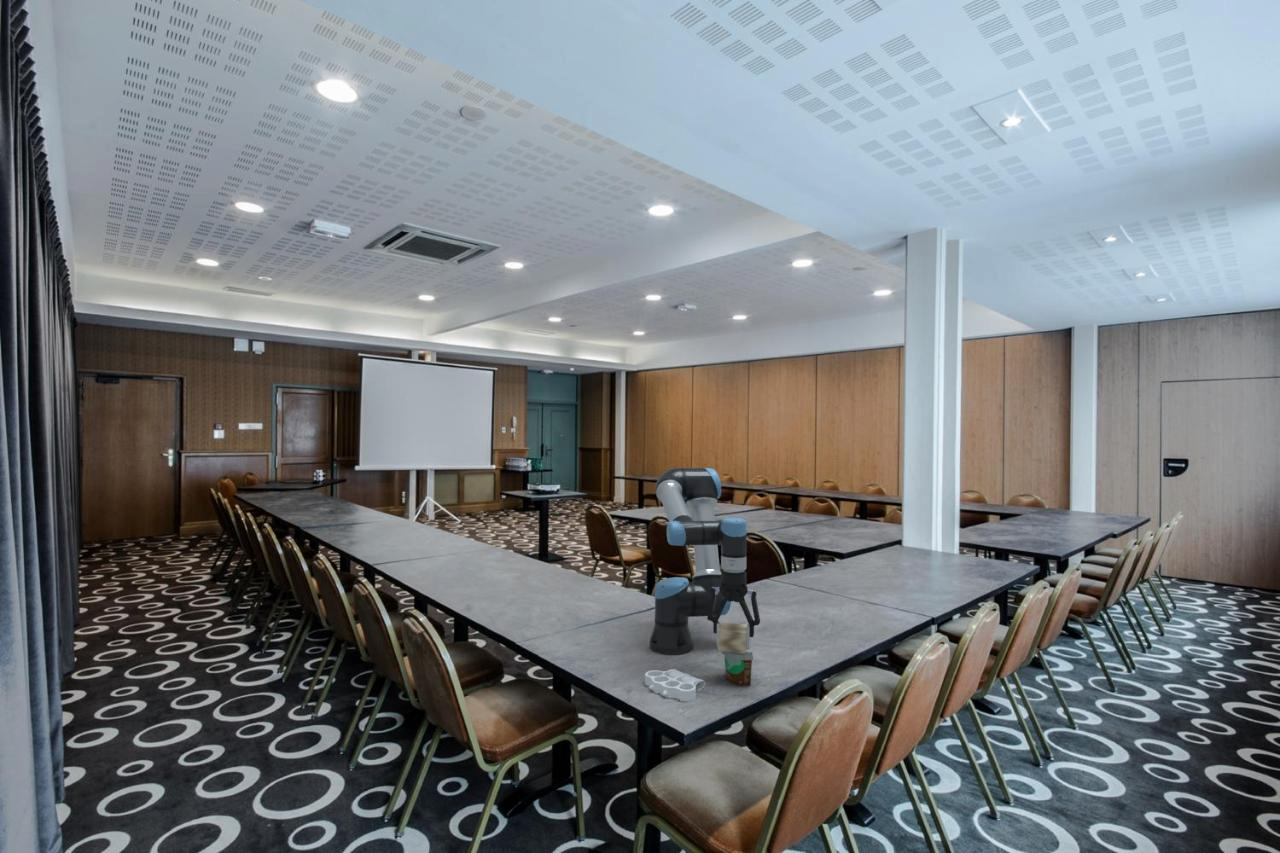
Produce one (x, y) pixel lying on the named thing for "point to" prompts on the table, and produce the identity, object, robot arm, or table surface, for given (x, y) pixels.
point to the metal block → (732, 638)
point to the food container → (738, 667)
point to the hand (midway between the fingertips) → (733, 645)
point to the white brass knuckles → (674, 684)
